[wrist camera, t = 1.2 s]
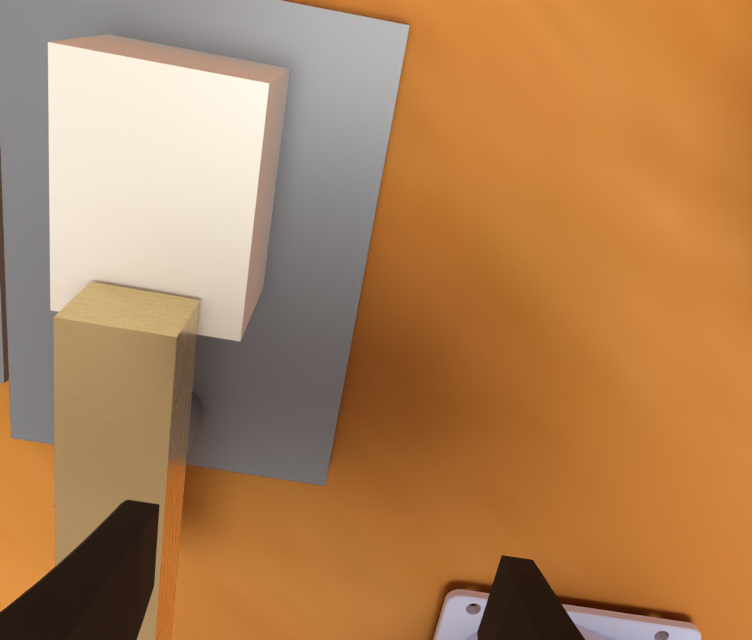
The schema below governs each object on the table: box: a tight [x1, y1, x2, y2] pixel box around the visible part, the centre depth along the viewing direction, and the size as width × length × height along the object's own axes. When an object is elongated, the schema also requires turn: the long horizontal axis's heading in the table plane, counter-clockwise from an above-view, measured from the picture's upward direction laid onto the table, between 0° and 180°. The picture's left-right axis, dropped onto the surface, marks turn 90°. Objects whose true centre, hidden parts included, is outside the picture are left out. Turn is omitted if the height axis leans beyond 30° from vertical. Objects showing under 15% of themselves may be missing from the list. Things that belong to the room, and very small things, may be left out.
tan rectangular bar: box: [53, 282, 200, 640], centre depth 18 cm, size 2×11×2 cm, turn 170°
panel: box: [0, 0, 410, 486], centre depth 19 cm, size 10×14×5 cm
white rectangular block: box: [48, 34, 290, 341], centre depth 17 cm, size 4×6×4 cm
